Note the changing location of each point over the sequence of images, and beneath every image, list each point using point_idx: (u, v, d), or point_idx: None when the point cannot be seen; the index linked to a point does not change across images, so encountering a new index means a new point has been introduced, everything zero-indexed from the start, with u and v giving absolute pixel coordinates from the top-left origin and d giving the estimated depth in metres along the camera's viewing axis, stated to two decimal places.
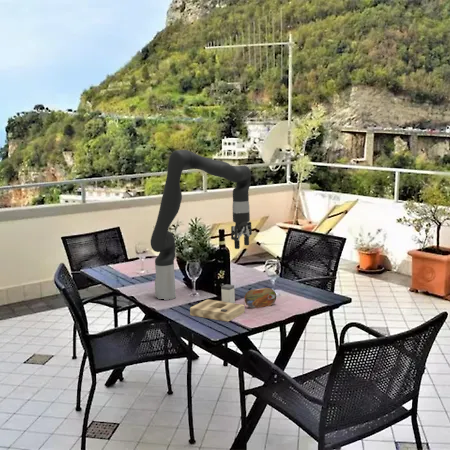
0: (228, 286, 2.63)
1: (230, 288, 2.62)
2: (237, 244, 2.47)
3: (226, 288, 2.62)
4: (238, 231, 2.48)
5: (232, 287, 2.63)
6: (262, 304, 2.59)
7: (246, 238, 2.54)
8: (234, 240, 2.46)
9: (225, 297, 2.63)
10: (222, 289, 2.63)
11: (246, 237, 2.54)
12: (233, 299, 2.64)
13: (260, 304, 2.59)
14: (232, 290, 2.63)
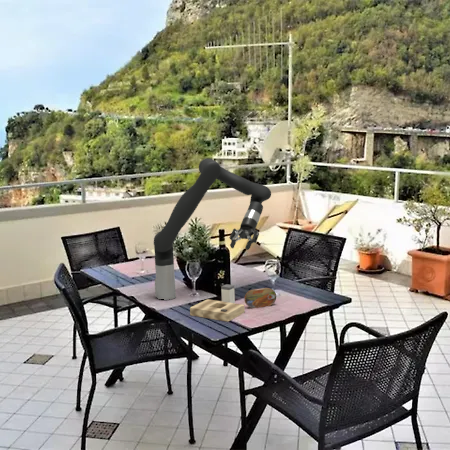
0: (228, 286, 2.63)
1: (230, 288, 2.62)
2: None
3: (226, 288, 2.61)
4: (249, 235, 2.72)
5: (232, 287, 2.63)
6: (262, 304, 2.59)
7: (234, 242, 2.74)
8: (251, 241, 2.68)
9: (225, 297, 2.63)
10: (222, 289, 2.63)
11: (234, 241, 2.74)
12: (233, 299, 2.64)
13: (260, 304, 2.59)
14: (232, 290, 2.63)
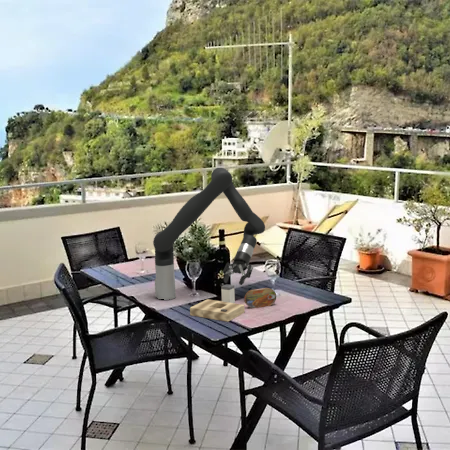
0: (228, 286, 2.63)
1: (230, 288, 2.62)
2: None
3: (226, 288, 2.61)
4: (243, 270, 2.69)
5: (232, 287, 2.63)
6: (262, 304, 2.59)
7: (228, 276, 2.71)
8: (244, 276, 2.66)
9: (225, 297, 2.63)
10: (222, 289, 2.63)
11: (228, 276, 2.71)
12: (233, 299, 2.64)
13: (260, 304, 2.59)
14: (232, 290, 2.63)
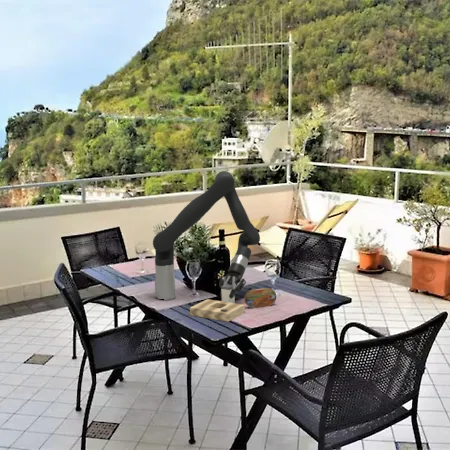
0: (228, 286, 2.63)
1: (230, 288, 2.62)
2: None
3: (226, 288, 2.62)
4: None
5: None
6: (262, 304, 2.59)
7: None
8: (234, 290, 2.62)
9: (225, 297, 2.63)
10: (222, 289, 2.63)
11: None
12: (233, 298, 2.64)
13: (260, 304, 2.59)
14: None
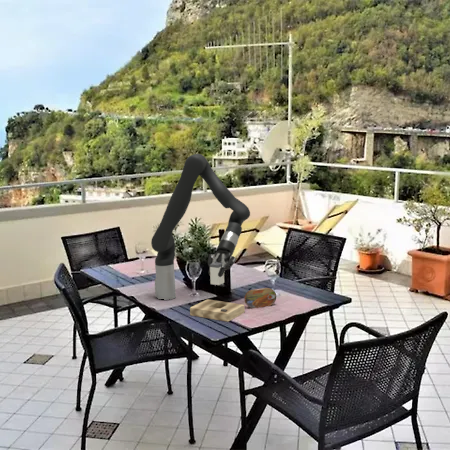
0: (217, 264, 2.48)
1: (219, 266, 2.47)
2: None
3: (215, 266, 2.47)
4: (225, 261, 2.51)
5: (221, 265, 2.49)
6: (262, 304, 2.59)
7: None
8: (224, 268, 2.48)
9: (214, 275, 2.48)
10: (211, 267, 2.48)
11: None
12: (222, 277, 2.50)
13: (260, 304, 2.59)
14: None
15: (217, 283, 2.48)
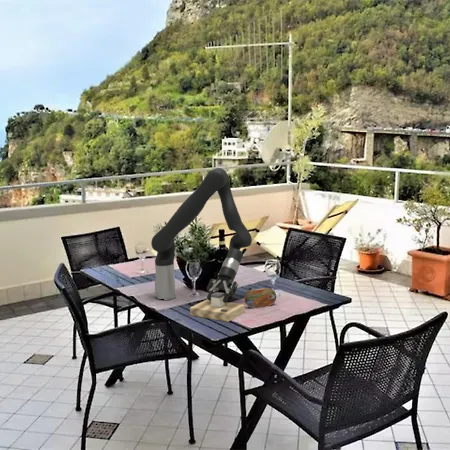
0: (218, 294, 2.50)
1: (220, 296, 2.49)
2: None
3: (216, 296, 2.49)
4: None
5: (222, 295, 2.51)
6: (262, 304, 2.59)
7: None
8: (228, 294, 2.49)
9: (215, 305, 2.50)
10: (212, 297, 2.51)
11: (212, 293, 2.54)
12: None
13: (260, 304, 2.59)
14: (222, 298, 2.51)
15: None
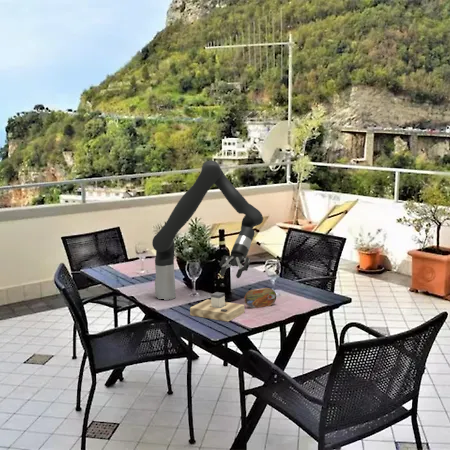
0: (218, 294, 2.50)
1: (220, 296, 2.49)
2: None
3: (216, 296, 2.49)
4: None
5: (222, 295, 2.51)
6: (262, 304, 2.59)
7: (224, 269, 2.62)
8: (242, 269, 2.57)
9: (215, 305, 2.50)
10: (212, 297, 2.51)
11: (225, 268, 2.63)
12: None
13: (260, 304, 2.59)
14: (222, 298, 2.51)
15: None
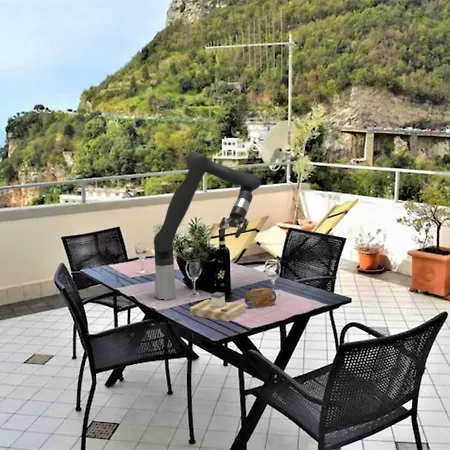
0: (218, 294, 2.50)
1: (220, 296, 2.49)
2: None
3: (216, 296, 2.49)
4: (239, 224, 2.71)
5: (222, 295, 2.51)
6: (262, 304, 2.59)
7: (224, 231, 2.73)
8: (240, 230, 2.68)
9: (215, 305, 2.50)
10: (212, 297, 2.51)
11: (224, 230, 2.73)
12: None
13: (260, 304, 2.59)
14: (222, 298, 2.51)
15: None
